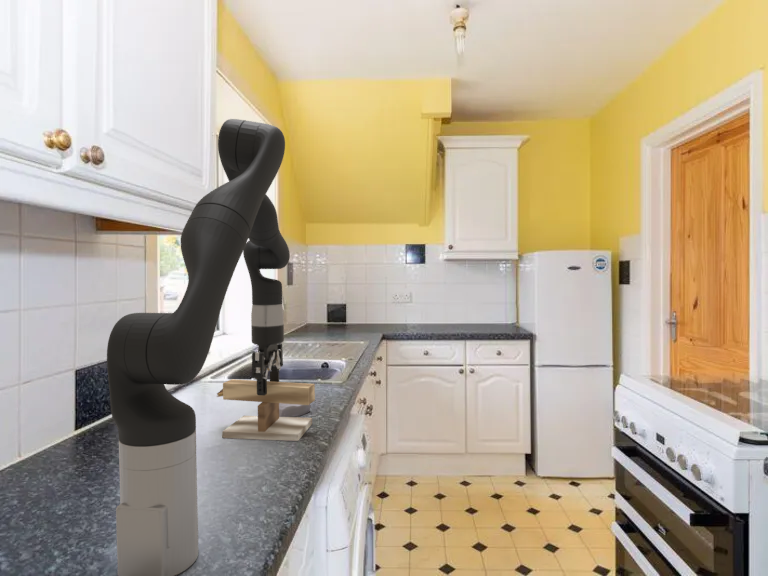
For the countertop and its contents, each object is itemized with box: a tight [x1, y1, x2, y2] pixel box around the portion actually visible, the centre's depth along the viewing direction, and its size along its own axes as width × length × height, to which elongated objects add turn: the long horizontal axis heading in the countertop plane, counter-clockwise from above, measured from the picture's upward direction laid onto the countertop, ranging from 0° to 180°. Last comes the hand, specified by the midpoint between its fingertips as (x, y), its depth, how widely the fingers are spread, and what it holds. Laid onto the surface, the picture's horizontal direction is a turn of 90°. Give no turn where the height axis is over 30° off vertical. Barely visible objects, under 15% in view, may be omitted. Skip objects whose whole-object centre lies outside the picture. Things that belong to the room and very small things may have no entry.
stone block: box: [279, 403, 311, 417], centre depth 127 cm, size 12×5×10 cm
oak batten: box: [222, 378, 316, 405], centre depth 114 cm, size 4×22×4 cm, turn 77°
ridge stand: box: [221, 402, 313, 442], centre depth 114 cm, size 12×18×8 cm, turn 83°
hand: (268, 390), depth 114 cm, fingers open, 8 cm apart
